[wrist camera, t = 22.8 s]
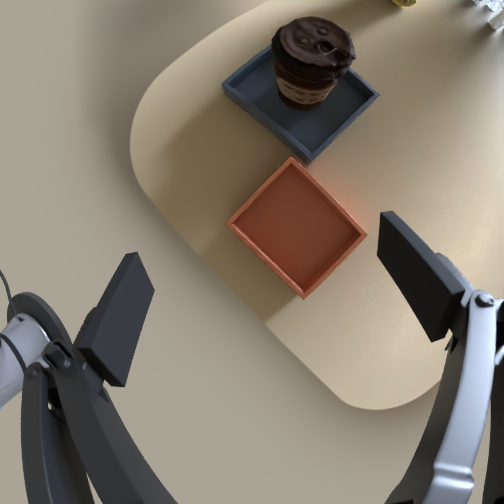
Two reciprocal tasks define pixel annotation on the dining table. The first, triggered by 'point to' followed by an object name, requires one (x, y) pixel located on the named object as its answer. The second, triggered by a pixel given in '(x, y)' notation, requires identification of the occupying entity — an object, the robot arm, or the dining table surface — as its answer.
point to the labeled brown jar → (310, 60)
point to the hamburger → (404, 2)
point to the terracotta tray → (296, 228)
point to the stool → (494, 4)
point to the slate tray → (294, 121)
